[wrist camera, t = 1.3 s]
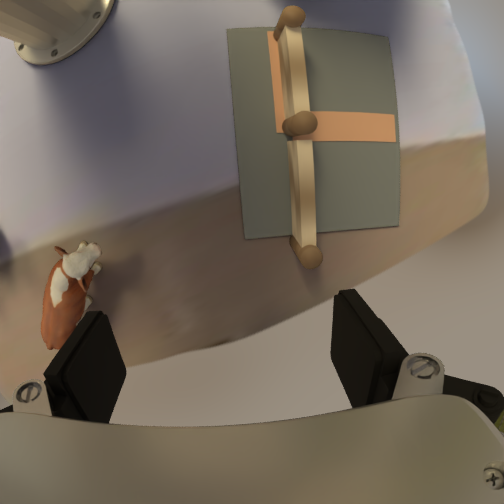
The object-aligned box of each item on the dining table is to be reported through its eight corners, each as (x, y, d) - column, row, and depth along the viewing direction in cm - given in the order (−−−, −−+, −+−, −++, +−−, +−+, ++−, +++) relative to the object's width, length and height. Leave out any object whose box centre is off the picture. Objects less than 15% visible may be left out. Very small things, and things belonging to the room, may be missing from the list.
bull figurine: (129, 232, 28) (97, 263, 20) (84, 326, 31) (55, 369, 23) (94, 209, 27) (52, 232, 19) (54, 306, 30) (21, 345, 22)
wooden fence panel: (272, 28, 22) (281, 5, 17) (291, 28, 22) (304, 6, 17) (282, 137, 26) (294, 134, 21) (302, 136, 26) (318, 134, 21)
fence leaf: (283, 141, 25) (295, 140, 21) (303, 140, 25) (318, 139, 21) (289, 250, 29) (300, 270, 24) (308, 248, 29) (322, 267, 24)
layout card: (226, 30, 22) (226, 28, 22) (386, 38, 23) (388, 36, 22) (244, 238, 29) (244, 239, 28) (397, 224, 29) (399, 225, 29)
